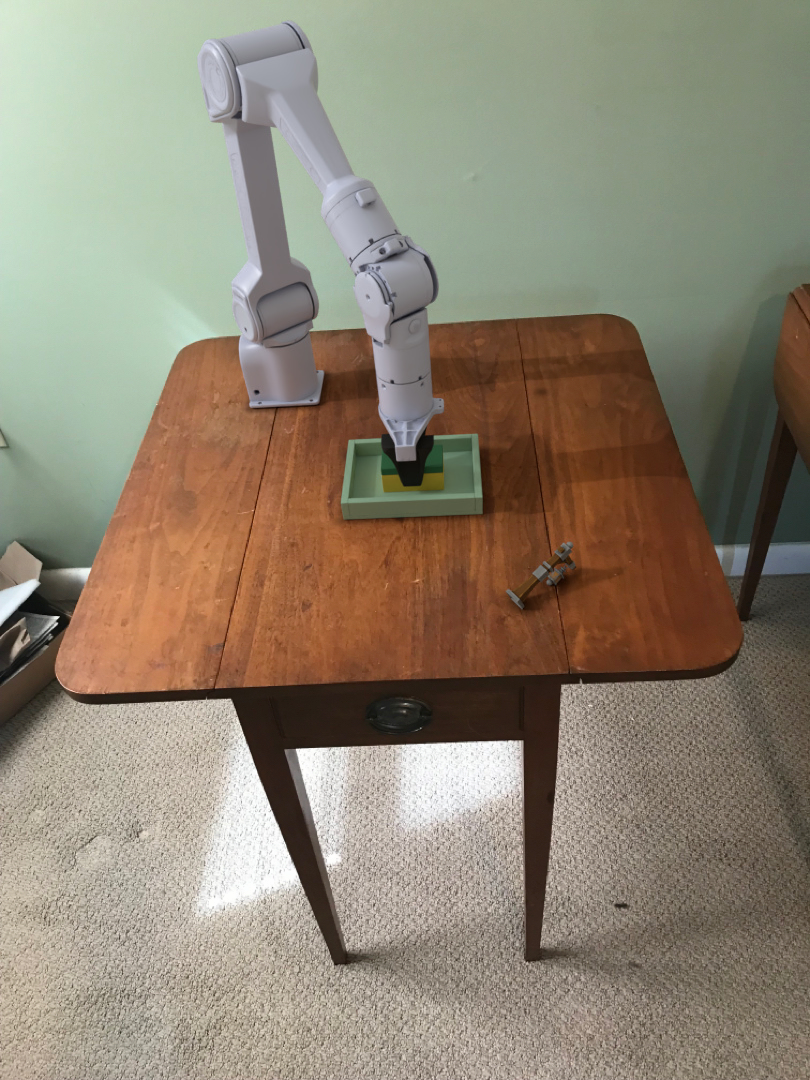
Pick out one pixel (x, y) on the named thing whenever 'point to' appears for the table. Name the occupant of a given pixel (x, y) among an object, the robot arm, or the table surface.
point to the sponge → (431, 477)
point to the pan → (372, 502)
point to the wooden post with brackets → (544, 573)
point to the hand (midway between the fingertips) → (412, 471)
